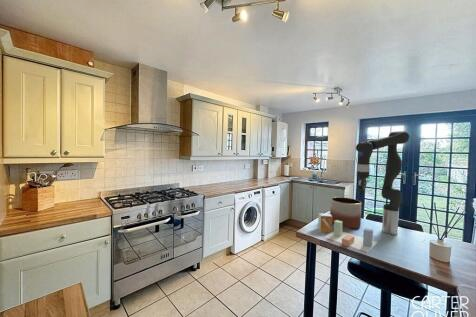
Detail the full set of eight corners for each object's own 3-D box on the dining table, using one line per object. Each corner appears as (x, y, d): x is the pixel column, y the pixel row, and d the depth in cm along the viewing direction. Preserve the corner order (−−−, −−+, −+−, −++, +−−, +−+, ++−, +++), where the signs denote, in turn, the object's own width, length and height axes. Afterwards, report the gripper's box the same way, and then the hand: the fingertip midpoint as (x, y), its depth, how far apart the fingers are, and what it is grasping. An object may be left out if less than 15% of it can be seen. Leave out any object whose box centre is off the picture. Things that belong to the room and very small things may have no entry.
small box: (320, 233, 146) (321, 215, 145) (317, 229, 152) (318, 212, 152) (331, 234, 145) (332, 216, 145) (328, 230, 152) (329, 213, 151)
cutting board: (336, 231, 151) (336, 229, 150) (377, 243, 132) (377, 242, 131) (324, 238, 137) (324, 237, 137) (368, 254, 118) (368, 252, 118)
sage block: (335, 233, 143) (336, 220, 142) (341, 235, 140) (342, 221, 139) (333, 235, 140) (334, 221, 140) (339, 237, 137) (340, 222, 137)
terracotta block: (347, 234, 133) (342, 238, 127) (354, 236, 130) (348, 240, 124) (347, 239, 134) (341, 244, 127) (354, 242, 131) (348, 247, 124)
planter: (367, 228, 157) (368, 203, 156) (343, 231, 151) (345, 204, 150) (345, 218, 178) (346, 196, 177) (324, 220, 173) (325, 197, 172)
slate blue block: (364, 243, 130) (365, 227, 129) (372, 245, 127) (373, 229, 126) (362, 244, 127) (363, 229, 126) (370, 247, 124) (371, 231, 124)
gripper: (360, 169, 149) (358, 193, 150) (354, 170, 140) (352, 195, 141) (372, 170, 144) (370, 194, 145) (366, 171, 135) (365, 197, 136)
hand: (361, 195), depth 143 cm, fingers closed
